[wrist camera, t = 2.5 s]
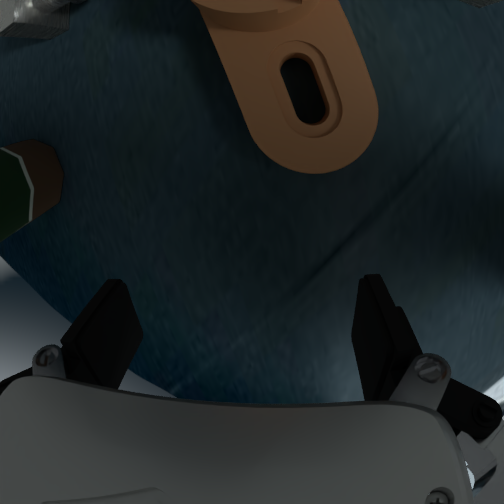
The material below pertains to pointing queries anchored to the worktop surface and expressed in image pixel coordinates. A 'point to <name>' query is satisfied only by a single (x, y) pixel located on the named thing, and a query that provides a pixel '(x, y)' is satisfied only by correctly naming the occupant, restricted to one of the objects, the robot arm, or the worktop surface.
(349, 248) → the worktop surface
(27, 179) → the beer bottle
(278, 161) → the bracket
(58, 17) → the grey metal fittings
